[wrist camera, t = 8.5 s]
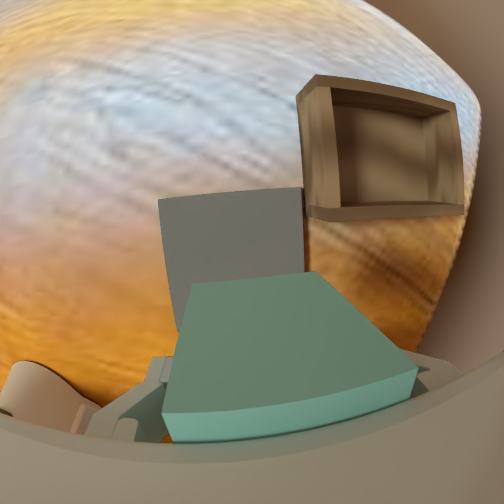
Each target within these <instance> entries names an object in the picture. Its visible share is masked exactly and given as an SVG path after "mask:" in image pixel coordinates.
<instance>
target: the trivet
mask: <svg viewBox="0 0 504 504" xmlns="http://www.w3.org/2000/svg"><path fill="white" fill-rule="evenodd" d="M158 207H159V216H160V225H161V234H162V242H163V249H164V256H165V263H166V270H167V276H168V283H169V289H170V295H171V300H172V306H173V311H174V317H175V322H176V327H177V332H180V328H181V324H182V320H183V316H184V312H185V309H186V305H187V301H188V297H189V293H190V290H191V286H192V284H197V283H208V282H219V281H229V280H239V279H249V278H259V277H268V276H277V275H286V274H295V273H304V240H303V217H302V198H301V187H296V188H277V189H261V190H247V191H235V192H223V193H212V194H202V195H193V196H184V197H175V198H167V199H159V200H158Z"/></svg>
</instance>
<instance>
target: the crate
mask: <svg viewBox="0 0 504 504" xmlns="http://www.w3.org/2000/svg"><path fill="white" fill-rule="evenodd" d="M296 103H297V113H298V123H299V133H300V144H301V156H302V170H303V184H304V201H305V215H306V216H309V217H313V218H316V219H319V220H323V221H326V222H340V221H354V220H370V219H387V218H405V217H425V216H447V215H464V173H463V158H462V148H461V139H460V131H459V124H458V117H457V111H456V106H455V103H453V102H450V101H447V100H444V99H441V98H437V97H434V96H431V95H427V94H424V93H420V92H416V91H412V90H408V89H404V88H400V87H395V86H391V85H386V84H381V83H376V82H370V81H365V80H358V79H352V78H344V77H336V76H327V75H317V74H315V75H314V77H313V78H312V79H311V80H310V81H309V82H308V83H307V84H306V85H305V86H304V88H303V89H302V90H301V91H300V92H299V93H298V94H297V95H296Z"/></svg>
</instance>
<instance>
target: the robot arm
mask: <svg viewBox="0 0 504 504" xmlns="http://www.w3.org/2000/svg"><path fill="white" fill-rule="evenodd" d="M399 349H400V348H399ZM400 350H401V351H402V352H403V353H404V354H405V355H406V356H407V357H408V358H409V359H410V360H411V361H412V362H413V363H414V364H415V365H417V366H418V367H419V368H418V372H417V375H416V378H415V382H414V385H413V388H412V391H411V394H410V397H409V400H407V401H404V402H402V403H399V404H396V405H394V406H391V407H388V408H385V409H383V410H380V411H377V412H374V413H371V414H368V415H364V416H361V417H358V418H355V419H351V420H348V421H344V422H340V423H337V424H333V425H329V426H325V427H320V428H316V429H311V430H307V431H302V432H296V433H291V434H285V435H279V436H273V437H266V438H258V439H250V440H241V441H229V442H215V443H159V442H160V441H161V440H162V439H163V438H164V437H165V436H166V435H167V433H168V432H169V431H168V429H167V426H166V424H165V421H164V419H163V416H162V414H161V412H162V407H163V402H164V398H165V393H166V388H167V384H168V379H169V375H170V370H171V366H172V361H173V357H174V356H167V357H166V356H160V357H153V358H152V360H151V363H150V366H149V369H148V371H147V374H146V377H145V380H144V383H139V384H137V385H136V386H135V387H133V388H132V389H130V390H129V391H127V392H126V393H124V394H123V395H121V396H120V397H118V398H117V399H115V400H114V401H112V402H111V403H109V404H108V405H106V406H105V407H103V408H102V407H100V406H99V405H97V404H95V403H94V402H92V401H90V400H88V399H86V398H84V397H83V396H81V395H80V394H79V393H78V392H76V391H75V390H74V389H73V388H72V387H71V386H70V385H69V384H68V383H67V382H65V381H64V380H63V379H62V378H60V377H59V376H58V375H56V374H55V373H53V372H52V371H50V370H48V369H47V368H45V367H43V366H41V365H38V364H36V363H33V362H28V361H20V362H17V363H15V364H14V365H13V366H12V367H11V369H10V372H9V375H8V378H7V380H6V382H5V384H4V386H3V388H2V390H1V392H0V504H504V350H503V351H502V352H500V353H499V354H497V355H496V356H494V357H492V358H491V359H489V360H487V361H486V362H484V363H483V364H481V365H479V366H477V367H476V368H474V369H472V370H470V371H468V372H467V373H465V374H462V373H461V372H460V371H458V370H457V369H456V368H455V367H454V366H453V365H451V364H450V363H449V362H448V361H445V360H441V359H437V358H433V357H429V356H425V355H422V354H418V353H414V352H411V351H407V350H403V349H400Z"/></svg>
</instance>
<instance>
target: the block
mask: <svg viewBox="0 0 504 504" xmlns="http://www.w3.org/2000/svg"><path fill="white" fill-rule="evenodd" d="M418 368H419V367H418V366H417V365H415V364H414V363H413V362H412V361H411V360H410V359H409V358H408V357H407V356H406V355H405V354H404V353H403V352H402V351H401V350H400V349H399V348H398V347H397V346H396V345H395V344H394V343H393V342H392V341H391V340H390V339H389V338H387V337H386V336H385V335H384V334H383V333H382V332H381V331H380V330H379V329H378V328H377V327H376V326H375V325H374V324H373V323H372V322H371V321H369V320H368V319H367V318H366V317H365V316H364V315H363V314H362V313H361V312H360V311H359V310H358V309H357V308H355V307H354V306H353V305H352V304H351V303H350V302H349V301H348V300H347V299H346V298H345V297H344V296H342V295H341V294H340V293H339V292H338V291H337V290H336V289H335V288H334V287H333V286H332V285H330V284H329V283H328V282H327V281H326V280H325V279H324V278H323V277H322V276H320V275H319V274H318V273H317V272H316V271H312V272H304V273H295V274H286V275H277V276H268V277H259V278H249V279H239V280H229V281H219V282H208V283H197V284H192V286H191V290H190V293H189V297H188V301H187V305H186V309H185V312H184V316H183V320H182V324H181V328H180V332H179V336H178V340H177V344H176V349H175V353H174V357H173V361H172V366H171V370H170V375H169V379H168V384H167V388H166V393H165V398H164V402H163V407H162V412H161V414H162V416H163V419H164V421H165V424H166V426H167V429H168V431H169V434H170V436H171V438H172V441H173V443H215V442H229V441H241V440H250V439H258V438H266V437H273V436H279V435H285V434H291V433H296V432H302V431H307V430H311V429H316V428H320V427H325V426H329V425H333V424H337V423H340V422H344V421H348V420H351V419H355V418H358V417H361V416H364V415H368V414H371V413H374V412H377V411H380V410H383V409H385V408H388V407H391V406H394V405H396V404H399V403H402V402H404V401H407V400H409V397H410V394H411V391H412V388H413V385H414V382H415V378H416V375H417V372H418Z"/></svg>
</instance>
